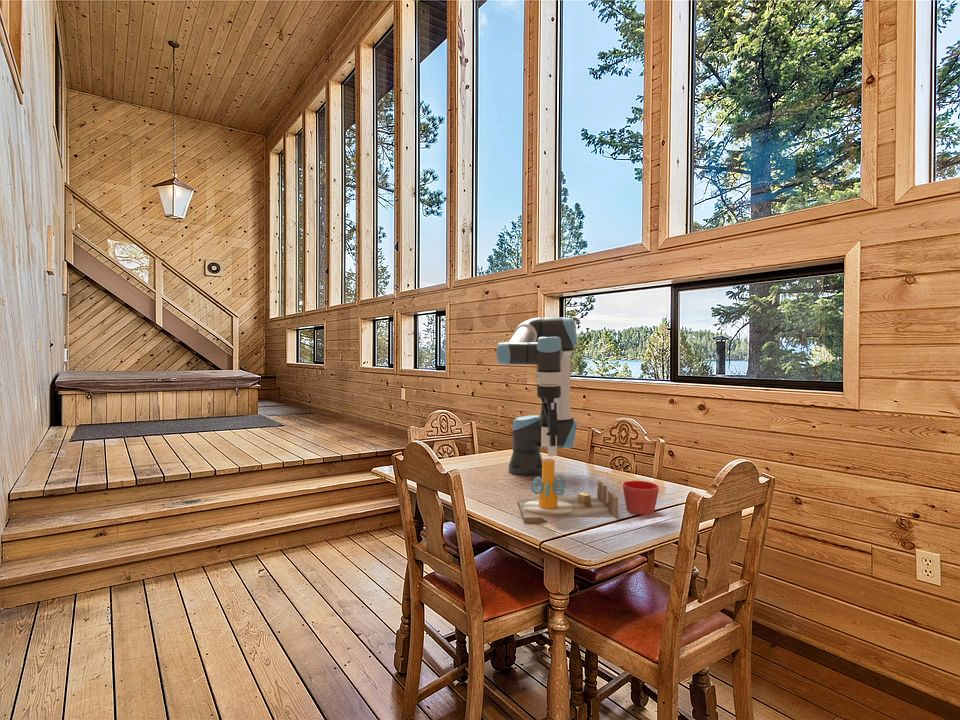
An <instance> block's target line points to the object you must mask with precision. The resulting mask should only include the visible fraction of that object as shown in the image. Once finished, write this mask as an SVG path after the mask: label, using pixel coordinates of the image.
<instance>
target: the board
mask: <svg viewBox="0 0 960 720" xmlns="http://www.w3.org/2000/svg"><path fill="white" fill-rule="evenodd" d="M596 481H597V482H596V483H597V485H596V486H597V487H596V491H597V492H596V494H597V495H596V496H597V497H591V504H590V505H583V504H581V503H579V502H578V497H558V506H557V507H556V508H553V509H546V508H542V507H540V506H539V497H531V498H529V497H524V498H523V497H520V498H516V500H517V502H516V503H517V506H518V509H519V512H520V515H521V517H522V521H523V523H524V524H525V523H527V524H529V523H531V524H533V523H534V524H535V523H536V524H537V523H548V520H546V519H545V518H547V519H548V518H551V519H552V518H553V519H554V518H555V519H556V518H561V519H562V518H565V519H566V518H620V516H619V497H618V495H616V494H615V493H614V491H613V490H610V489H609V490H608V485H606V484H605V483H604V482H603V481H602V480H601V479H598V480H596Z"/></svg>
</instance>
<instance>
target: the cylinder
mask: <svg viewBox="0 0 960 720" xmlns="http://www.w3.org/2000/svg"><path fill="white" fill-rule="evenodd" d="M555 460H556V459H554V458H542V473H541V477H539V476H537V477H535V478H534V479H533V482H532V484H531V486H530V489H531V492H532V493H533V494H535V495H538V498H539V506H540V507H542V508H546V509H553V508H556V507H557V506H558V498H559V497H558V496H562V495H563V494H564V492H565V488H566V481H565V479H563V478H561V477H560V478H557V479H555V471H556V469H555V467H556V466H555V464H556V461H555ZM537 484H539V485H540V487H538V486H537ZM557 485H559V486H560V488H557ZM534 488H535V489H536V490H537V491H536V490H535V489H534Z"/></svg>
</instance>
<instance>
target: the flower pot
mask: <svg viewBox="0 0 960 720" xmlns="http://www.w3.org/2000/svg"><path fill="white" fill-rule="evenodd" d="M622 487H623V488H622V489H623V495H624V501H625V502H624V503H625V507H626V511H627V512H629V513H632V514H635V515H645V516H646V515H648V516H649V515H653V514H654V513H655V509H656V506H657V500H658V495H659V490H660V489H659V488H660V486H659V485H658V484H657V483H654V482H649V481H643V480H628V481H624V482H622ZM647 519H649V518H647Z"/></svg>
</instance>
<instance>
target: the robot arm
mask: <svg viewBox="0 0 960 720" xmlns="http://www.w3.org/2000/svg"><path fill="white" fill-rule="evenodd" d="M577 346H578V335H577V328H576V322H575V319H573V318H572V317H564V316H563V317H534V318H530V319H527V320H525V321H523V322H521V323H519V324H518V325H517V326H516V327H515V329H514V331H513V334H512V336H511V338H510V339H509V341H508V342H507V341H504V342H498V344H497V347H496V361H497V363H498V364H499V365H506V366H508V365H529V366H531V365H535V366H537V371H536V372H537V374H535V378H536V382H537V383H536V384H538V385H537V387H536V396H537V398H539V399H541V407H540V408H541V409H540V410H541V411H540V415H536V414H533V415H532V414H531V415H523V416H519V417H516V418H514V420H513V422H512V454H511V457H510V460H509V464H508V472H509V473H511V474H513V475H514V474H515V475H520V476H535V475H542V459H543V458H542V454H541V448H547V456H548V457H557V456H558V449H570V448H573V447H574V445H575V441H576V440H575V439H576V432H577V426H578V420H577V419H574V418H575V417H574V416H575V415H573V413H571V355H572V353H573V352H574V350H575V347H577Z"/></svg>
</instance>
